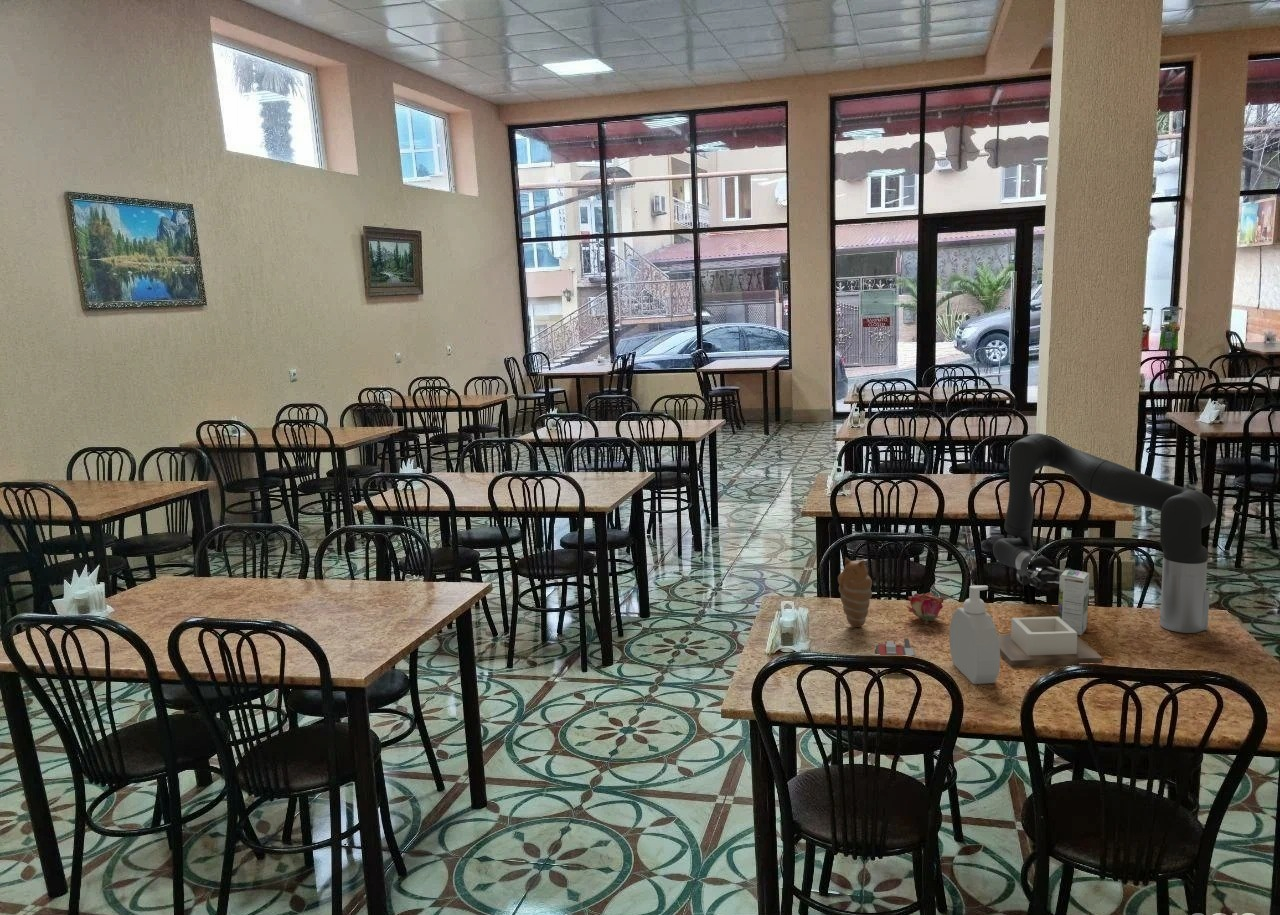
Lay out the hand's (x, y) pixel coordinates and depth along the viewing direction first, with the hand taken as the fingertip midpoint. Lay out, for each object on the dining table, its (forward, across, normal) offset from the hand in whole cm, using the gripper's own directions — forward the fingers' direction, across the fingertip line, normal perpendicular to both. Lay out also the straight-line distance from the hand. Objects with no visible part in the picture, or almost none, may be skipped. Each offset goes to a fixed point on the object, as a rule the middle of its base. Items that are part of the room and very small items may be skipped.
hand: (1058, 585), depth 237 cm
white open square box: (+22, -12, +7) cm, 26 cm away
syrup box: (+9, 0, +9) cm, 13 cm away
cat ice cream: (+3, -51, +9) cm, 52 cm away
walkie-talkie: (+24, -46, +9) cm, 53 cm away
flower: (0, -33, +9) cm, 34 cm away
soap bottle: (+34, -31, +9) cm, 46 cm away
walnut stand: (+22, -12, +8) cm, 27 cm away
